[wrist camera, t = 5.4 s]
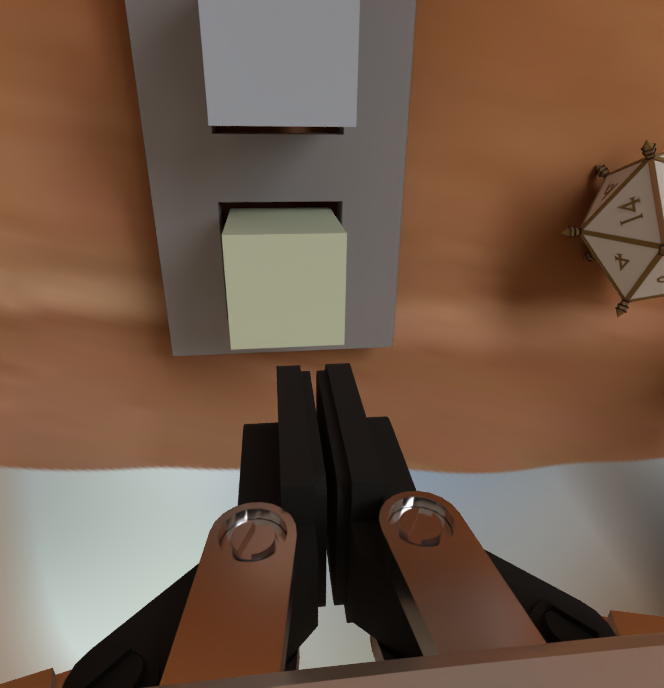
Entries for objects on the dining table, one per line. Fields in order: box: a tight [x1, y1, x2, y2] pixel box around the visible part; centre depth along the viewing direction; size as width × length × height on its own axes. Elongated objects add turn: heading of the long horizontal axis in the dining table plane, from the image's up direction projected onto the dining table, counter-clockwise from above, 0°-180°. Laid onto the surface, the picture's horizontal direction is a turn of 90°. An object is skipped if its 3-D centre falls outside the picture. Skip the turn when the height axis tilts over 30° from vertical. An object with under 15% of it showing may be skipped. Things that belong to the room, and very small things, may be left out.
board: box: [125, 0, 416, 356], centre depth 23 cm, size 28×12×2 cm, turn 179°
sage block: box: [222, 207, 347, 350], centre depth 24 cm, size 5×5×6 cm
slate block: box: [198, 0, 360, 127], centre depth 19 cm, size 5×5×6 cm
